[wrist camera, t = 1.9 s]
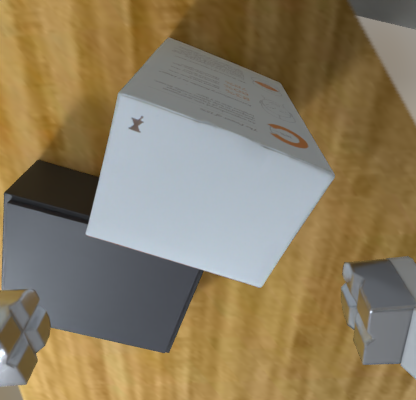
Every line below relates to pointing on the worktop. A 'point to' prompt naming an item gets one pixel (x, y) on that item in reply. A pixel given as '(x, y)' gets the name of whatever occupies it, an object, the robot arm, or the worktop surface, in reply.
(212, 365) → the worktop surface
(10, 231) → the dark gray box
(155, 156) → the small box
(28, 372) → the robot arm
